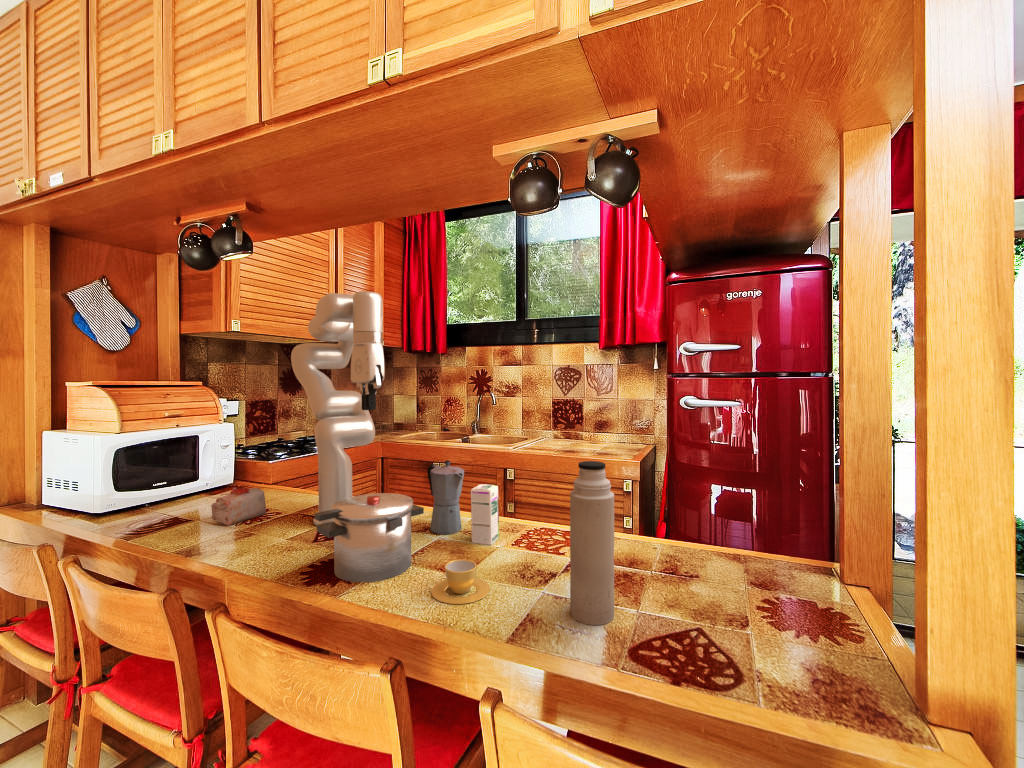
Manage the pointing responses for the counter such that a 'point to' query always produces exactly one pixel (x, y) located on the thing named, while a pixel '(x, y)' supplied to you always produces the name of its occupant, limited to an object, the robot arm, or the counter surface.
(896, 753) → the counter surface
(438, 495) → the moka pot
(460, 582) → the cup
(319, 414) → the robot arm
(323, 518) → the lid
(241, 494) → the food item
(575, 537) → the thermos bottle
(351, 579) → the pot
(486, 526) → the syrup box
